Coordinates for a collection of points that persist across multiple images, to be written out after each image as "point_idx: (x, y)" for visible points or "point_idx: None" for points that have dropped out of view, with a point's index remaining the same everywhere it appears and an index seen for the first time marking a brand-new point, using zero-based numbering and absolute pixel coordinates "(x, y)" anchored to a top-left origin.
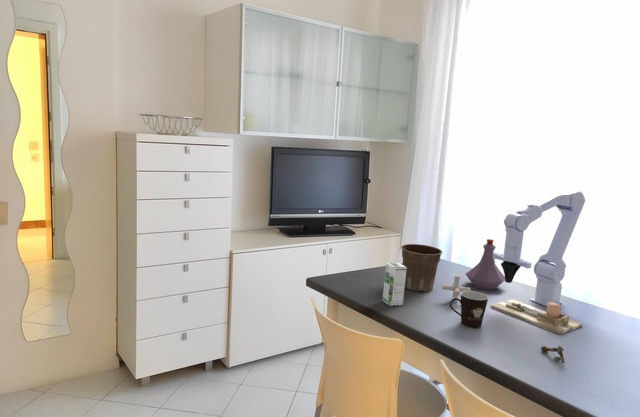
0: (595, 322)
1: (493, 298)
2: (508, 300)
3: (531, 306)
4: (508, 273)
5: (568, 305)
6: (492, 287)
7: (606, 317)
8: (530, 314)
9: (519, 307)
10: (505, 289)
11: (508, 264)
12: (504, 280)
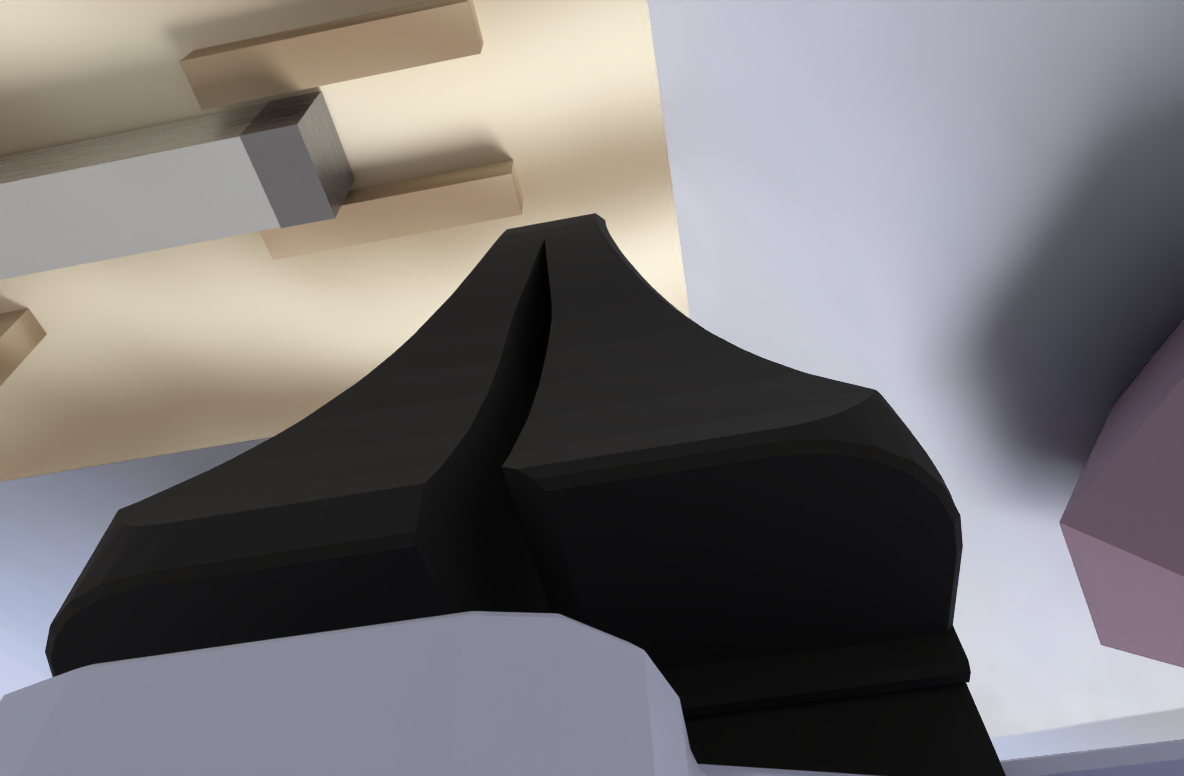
0: (20, 648)
1: (903, 157)
2: (675, 251)
3: None
4: (460, 341)
5: None
6: (1135, 393)
7: None
8: (82, 132)
9: (266, 114)
10: (1029, 532)
11: (381, 610)
12: (1086, 592)
